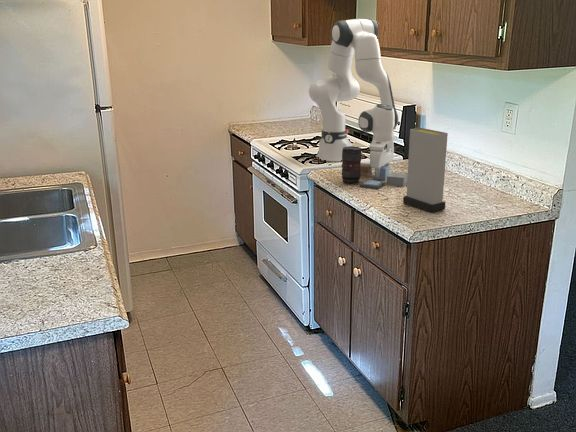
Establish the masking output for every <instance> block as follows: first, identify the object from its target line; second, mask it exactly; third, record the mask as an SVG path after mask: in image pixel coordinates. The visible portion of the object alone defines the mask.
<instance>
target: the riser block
mask: <svg viewBox="0 0 576 432" xmlns="http://www.w3.org/2000/svg"><path fill="white" fill-rule="evenodd" d="M407 177H408V173H402V172H389V175H388V176H387V179H386V186H392V187H394V186H395V187H405V185H407Z"/></svg>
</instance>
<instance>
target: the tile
mask: <svg viewBox="0 0 576 432" xmlns="http://www.w3.org/2000/svg"><path fill="white" fill-rule="evenodd" d="M385 185H386V182H384V181H381V180H380V181H379V180H372V179H366V180H365V181H363V182H362V183H359V188H364V189H374V190H379V189H381V188H382V187H384V186H385Z"/></svg>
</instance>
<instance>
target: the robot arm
mask: <svg viewBox="0 0 576 432" xmlns="http://www.w3.org/2000/svg"><path fill="white" fill-rule="evenodd" d="M377 22H378V21H377V20H375V19H371V18H367V19H366V18H352V19H346V20H344V19H342V20H338V21H336V22H334V24H333V26H332V27H331V28H332V29H331V38H332V40H331V43H330V48H329V55H328V60H327V67H328V69H329V70H330V71H331V72H332V73H334V74H335V77H334V78H321V79H317V80H314V81H312V82H311V83H310V85H309V87H308V95H309V97H310V99H311V100H312V101H313V102H314V103H315V104H316V105H317V106H318V107H319V110H320V113H321V118H322V130H321V139H320V140H319V143H318V153H316V156H315V157H316V158H318V157H319V158H318V159H319V160H320V159H321V161H324V160H326V161H325V162H342V161H341V160H342V150H343V147H346V146H353V143H352V142H351V141H350V140H349V139H348V134H349V129H346V114H345V113H344V111H343V110H341V109H339V108H338V107H337V104H336V103H338V102H348V101H352V100H354V99H357V98H358V97H359V95H360V92H361V91H360V90H361V87H360V84H359V81H357V79H356V78H355V77H354V76H353V73H352V67H353V60H354V67H355V72H356V74H357V76H358V77H359V79H361V80H362V81H364V82H366V83H369V84H371V85H374V87H376V88H377V90H378V91H377V92H378V94H379V98H380V103H378V104H376V105H375V106H374V107H372V108H370V109H368V110H364V111H362V112H360V115H359V116H358V119H357V120H358V127H359V129H360V130H361V131H362V132H364V133H373V135H372V141H371V142H370V143H369V146H368V149H369V150H370V152H369V164H370V166H371V168H372V169H374V174H375V173H376V177H380V176H381V173H380V167H382V166H390V163H391V162H392V161H393V160H394V157H395V147H394V146H395V145H394V143H395V142H394V141H395V134H394V130H395V129H396V127H397V125H398V124H399V114H398V111H397V109H396V106H395V101H394V96H393V91H392V85H391V81H390V77H389V76H390V75H388V72H386V71H385V69H384V67H383V65H382V58H381V57H382V56H381V49H380V43H379V38H378V39H377V36H376V35H378V24H379V23H378V24H377Z"/></svg>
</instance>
